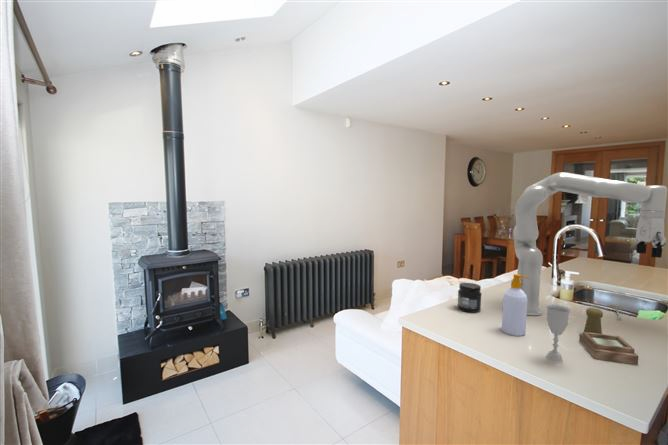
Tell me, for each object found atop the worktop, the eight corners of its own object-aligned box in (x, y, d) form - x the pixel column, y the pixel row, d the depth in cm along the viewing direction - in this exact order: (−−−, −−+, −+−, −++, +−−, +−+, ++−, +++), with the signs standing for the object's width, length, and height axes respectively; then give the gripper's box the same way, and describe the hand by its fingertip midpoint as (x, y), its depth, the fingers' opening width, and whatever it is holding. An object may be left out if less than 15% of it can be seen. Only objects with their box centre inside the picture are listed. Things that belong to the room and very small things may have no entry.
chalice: (537, 354, 116) (540, 304, 115) (555, 353, 117) (559, 303, 115) (553, 364, 109) (556, 311, 107) (572, 364, 110) (576, 311, 108)
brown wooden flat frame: (594, 358, 113) (595, 345, 113) (579, 341, 127) (580, 330, 126) (637, 364, 110) (638, 351, 109) (617, 346, 123) (618, 334, 122)
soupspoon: (623, 310, 164) (605, 308, 168) (623, 303, 164) (606, 301, 168) (628, 322, 146) (609, 320, 150) (628, 315, 146) (609, 312, 150)
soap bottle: (518, 338, 129) (522, 278, 126) (496, 329, 137) (499, 273, 135) (532, 334, 133) (535, 276, 130) (510, 325, 141) (513, 271, 139)
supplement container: (476, 306, 165) (477, 282, 164) (483, 313, 155) (485, 288, 154) (454, 305, 166) (455, 281, 165) (460, 312, 156) (461, 288, 155)
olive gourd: (605, 339, 128) (608, 312, 127) (588, 338, 130) (590, 310, 129) (596, 333, 134) (599, 306, 133) (580, 331, 135) (582, 305, 134)
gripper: (629, 213, 148) (625, 251, 150) (655, 216, 132) (651, 258, 133) (649, 213, 147) (645, 252, 148) (678, 216, 130) (674, 259, 131)
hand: (648, 255), depth 141 cm, fingers open, 9 cm apart
